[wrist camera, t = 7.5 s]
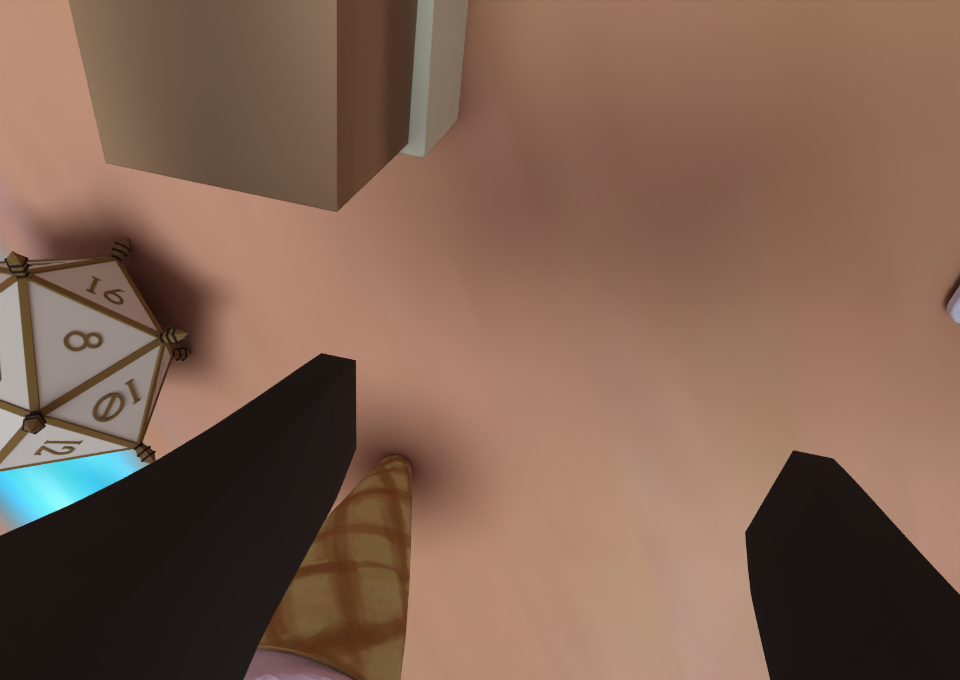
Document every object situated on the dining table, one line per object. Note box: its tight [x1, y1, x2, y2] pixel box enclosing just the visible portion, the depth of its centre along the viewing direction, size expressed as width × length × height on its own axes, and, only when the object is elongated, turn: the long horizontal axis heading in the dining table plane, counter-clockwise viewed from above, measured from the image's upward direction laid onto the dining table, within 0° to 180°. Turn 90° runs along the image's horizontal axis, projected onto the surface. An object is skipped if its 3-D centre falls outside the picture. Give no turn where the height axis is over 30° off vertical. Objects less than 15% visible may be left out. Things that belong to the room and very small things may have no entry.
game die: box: [0, 238, 192, 471], centre depth 21 cm, size 9×8×10 cm
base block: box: [399, 0, 469, 157], centre depth 15 cm, size 6×6×4 cm
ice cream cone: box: [244, 455, 412, 680], centre depth 20 cm, size 7×6×15 cm
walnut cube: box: [69, 0, 418, 212], centre depth 11 cm, size 4×4×4 cm
